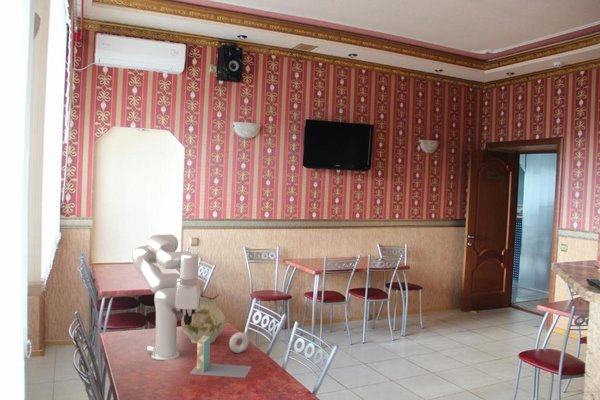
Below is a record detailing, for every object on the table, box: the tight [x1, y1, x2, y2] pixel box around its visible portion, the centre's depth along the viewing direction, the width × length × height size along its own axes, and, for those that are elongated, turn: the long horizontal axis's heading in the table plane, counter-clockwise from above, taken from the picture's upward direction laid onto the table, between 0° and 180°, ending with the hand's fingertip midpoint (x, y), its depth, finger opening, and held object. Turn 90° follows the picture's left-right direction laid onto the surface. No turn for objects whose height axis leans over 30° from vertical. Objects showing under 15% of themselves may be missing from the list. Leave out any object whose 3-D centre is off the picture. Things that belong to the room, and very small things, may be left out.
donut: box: [228, 331, 250, 354], centre depth 248 cm, size 10×4×10 cm, turn 121°
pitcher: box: [180, 292, 226, 345], centre depth 266 cm, size 22×24×25 cm
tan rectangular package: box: [196, 336, 211, 372], centre depth 223 cm, size 3×9×13 cm, turn 174°
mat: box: [189, 362, 253, 379], centre depth 222 cm, size 24×14×1 cm, turn 84°
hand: (187, 324), depth 223 cm, fingers closed
